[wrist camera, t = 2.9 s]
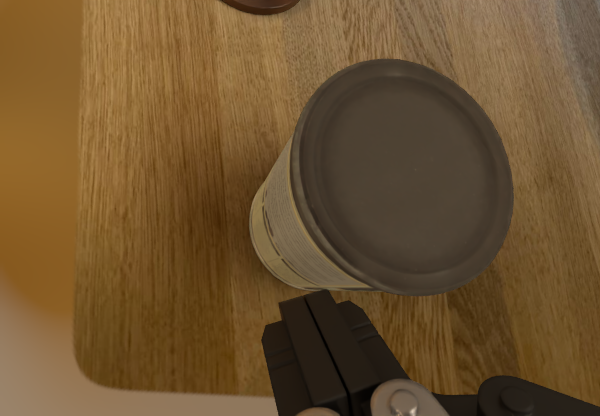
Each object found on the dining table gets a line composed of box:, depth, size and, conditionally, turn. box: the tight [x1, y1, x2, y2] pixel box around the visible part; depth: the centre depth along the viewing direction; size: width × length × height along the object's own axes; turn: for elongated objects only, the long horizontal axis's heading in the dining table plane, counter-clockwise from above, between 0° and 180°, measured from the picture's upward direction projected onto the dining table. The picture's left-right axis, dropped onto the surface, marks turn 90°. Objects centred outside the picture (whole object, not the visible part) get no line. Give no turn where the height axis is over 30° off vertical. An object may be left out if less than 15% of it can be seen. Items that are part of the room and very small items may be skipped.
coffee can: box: [249, 59, 514, 296], centre depth 22 cm, size 10×10×14 cm
